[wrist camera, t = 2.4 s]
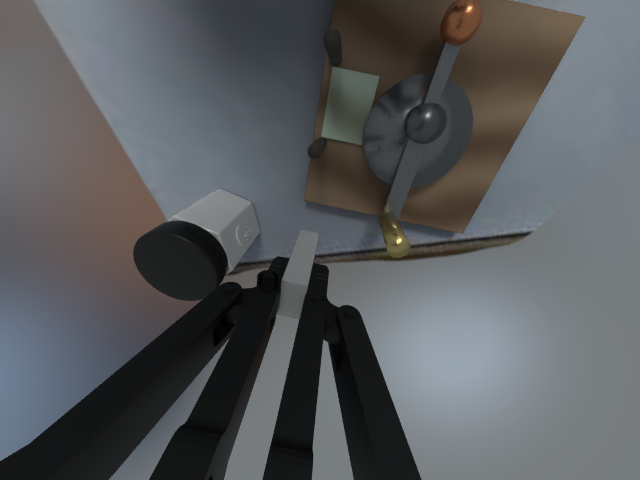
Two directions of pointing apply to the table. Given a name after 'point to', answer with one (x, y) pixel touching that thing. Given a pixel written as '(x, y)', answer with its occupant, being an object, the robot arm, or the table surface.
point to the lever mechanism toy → (419, 58)
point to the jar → (197, 246)
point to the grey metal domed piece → (421, 125)
